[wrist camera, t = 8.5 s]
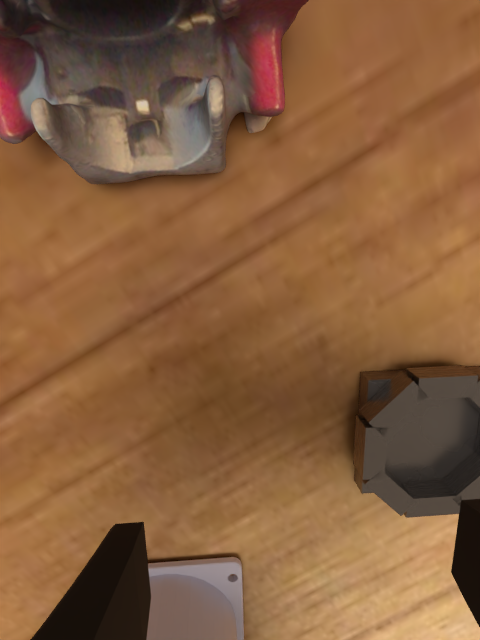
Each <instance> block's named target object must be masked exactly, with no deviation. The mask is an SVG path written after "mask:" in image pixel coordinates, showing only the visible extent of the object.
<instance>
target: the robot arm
mask: <svg viewBox="0 0 480 640" xmlns="http://www.w3.org/2000/svg"><path fill="white" fill-rule="evenodd" d="M451 573H452V575H453V577H454V579H455V581H456V583H457V585H458V587H459V589H460V591H461V593H462V595H463V597H464V599H465V601H466V603H467V605H468V606H469V608H470V610H471V612H472V614H473V616H474V618H475V620H476V621H477V623H478V625H479V627H480V499H469V500H461V505H460V512H459V520H458V527H457V534H456V542H455V549H454V556H453V564H452V571H451ZM231 574H235V575H233V576H232V575H231ZM31 640H244V620H243V587H242V564H241V561H240V560H239V559H238V558H236V557H225V558H212V559H199V560H186V561H173V562H160V563H148V560H147V550H146V540H145V531H144V522H138V523H123V524H115V525H114V526H113V527H112V528H111V529H110V531H109V532H108V534H107V535H106V537H105V538H104V540H103V541H102V543H101V544H100V546H99V547H98V549H97V550H96V552H95V553H94V555H93V556H92V557H91V559H90V560H89V562H88V563H87V565H86V566H85V568H84V569H83V570H82V572H81V573H80V575H79V576H78V577H77V579H76V580H75V582H74V583H73V584H72V586H71V587H70V589H69V590H68V591H67V593H66V594H65V595H64V597H63V598H62V599H61V601H60V602H59V603H58V605H57V606H56V607H55V609H54V610H53V611H52V613H51V614H50V615H49V617H48V618H47V620H46V621H45V622H44V623H43V625H42V626H41V627H40V629H39V630H38V631H37V632H36V634H35V635H34V636H33V637H32V639H31Z"/></svg>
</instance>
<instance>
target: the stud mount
mask: <svg viewBox="0 0 480 640" xmlns="http://www.w3.org/2000/svg"><path fill="white" fill-rule="evenodd" d="M353 464H354V466H355V482H356V484H357V486H358V488H359V489H360V491H361V493H375V494H376V495H377V496H378V497H380V498H381V499H382V500H383V501H384V502H385V503H387V504H388V505H389V506H390V507H391V508H392V509H394V510H395V511H396V512H397V513H398V514H399V515H400V516H402V515H403V514H404V515H405V517H420V516H434V515H448V514H459V512H460V505H461V500H469V499H480V366H471V367H463V366H461V365H458V366H438V367H418V368H406V370H390V371H370V372H360V390H359V408H358V415H356V424H355V442H354V461H353Z"/></svg>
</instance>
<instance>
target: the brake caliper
mask: <svg viewBox="0 0 480 640" xmlns="http://www.w3.org/2000/svg"><path fill="white" fill-rule="evenodd" d="M307 2H308V0H0V137H1V139H3V140H4V141H6V142H8V143H12V144H17V143H20V142H22V141H24V140H25V139H26V138H27V137H29V136H31V135H32V134H33V133H34V132H35V131H37V132H38V134H39V135H40V136H41V137H42V139H43V140H44V141H45V142H46V143H47V144H48V145H50V147H51V148H52V149H53V150H54V151H55V152H56V153H57V155H58V156H59V157H60V158H61V159H63V160H65V161H66V162H67V163H68V164H69V165H70V166H71V167H72V169H73V170H74V171H75V172H76V173H77V174H78V175H79V176H81V177H82V178H84V179H85V180H86V181H88V182H89V183H91V184H107V183H122V182H130V181H134V180H139V179H143V178H147V177H152V176H158V175H190V174H208V173H218V172H221V171H222V170H224V169H225V167H226V158H225V151H226V138H227V132H228V129H229V126H230V123H231V121H232V119H233V118H234V116H235V115H236V114H238V113H240V112H244V116H245V122H246V126H247V130H248V132H250V133H254V132H258V131H261V130H263V129H264V128H265V127H266V125H267V123H268V122H269V121H270V119H271V118H272V117H273V116H277V115H279V114H281V113H282V112H283V111H284V107H285V93H284V83H283V71H282V54H281V40H282V37H283V35H284V33H285V32H286V31H287V29H288V28H289V27H290V25H291V24H292V22H293V21H294V20H295V18H296V15H297V13H298V11H299V10H300V8H301V7H302V6H303V5H304V4H306V3H307Z"/></svg>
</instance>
